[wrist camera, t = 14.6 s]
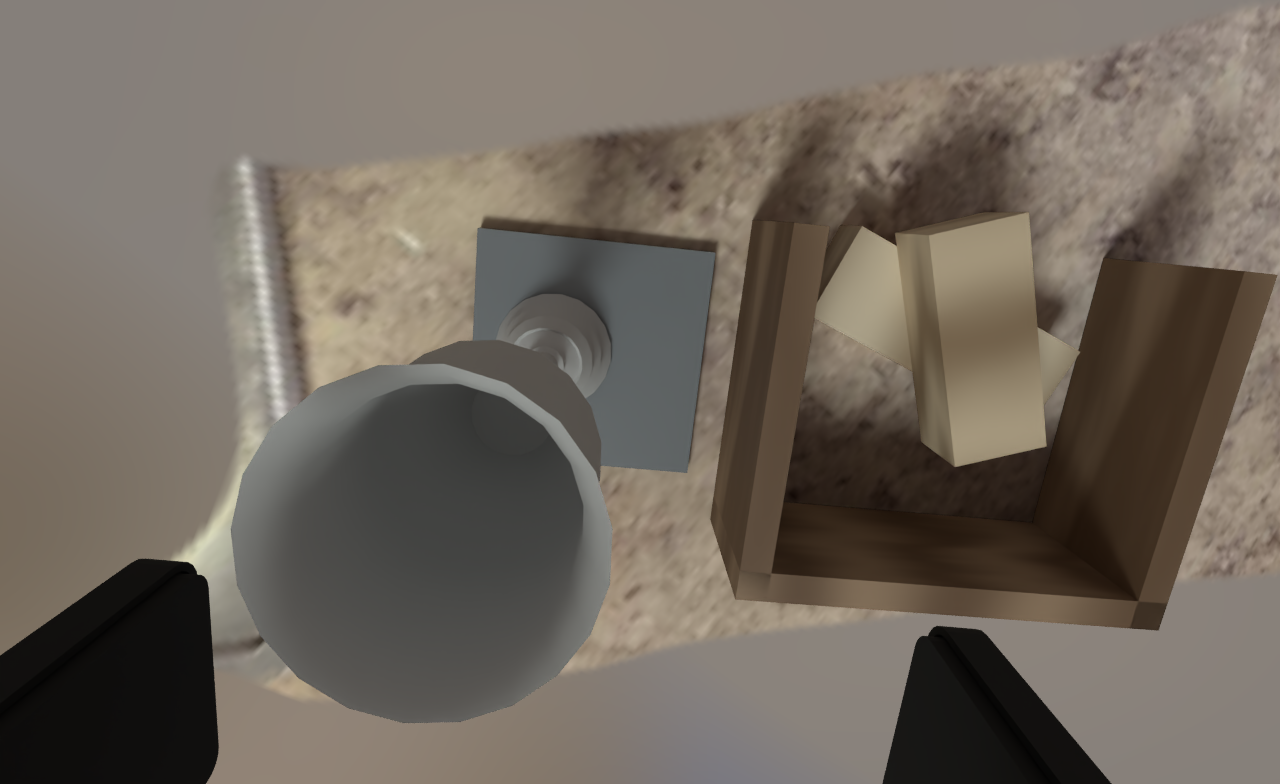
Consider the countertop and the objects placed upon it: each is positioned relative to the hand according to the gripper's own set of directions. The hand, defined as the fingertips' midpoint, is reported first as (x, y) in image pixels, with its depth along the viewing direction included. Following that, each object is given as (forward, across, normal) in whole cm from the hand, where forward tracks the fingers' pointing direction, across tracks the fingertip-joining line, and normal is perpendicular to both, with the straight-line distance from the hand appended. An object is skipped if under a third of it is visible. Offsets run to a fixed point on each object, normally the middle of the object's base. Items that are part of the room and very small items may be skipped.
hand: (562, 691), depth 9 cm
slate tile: (+22, +1, 0) cm, 22 cm away
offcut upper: (+20, -14, -3) cm, 25 cm away
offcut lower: (+23, -14, -3) cm, 27 cm away
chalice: (+22, +2, 0) cm, 22 cm away
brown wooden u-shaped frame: (+23, -14, +1) cm, 27 cm away
